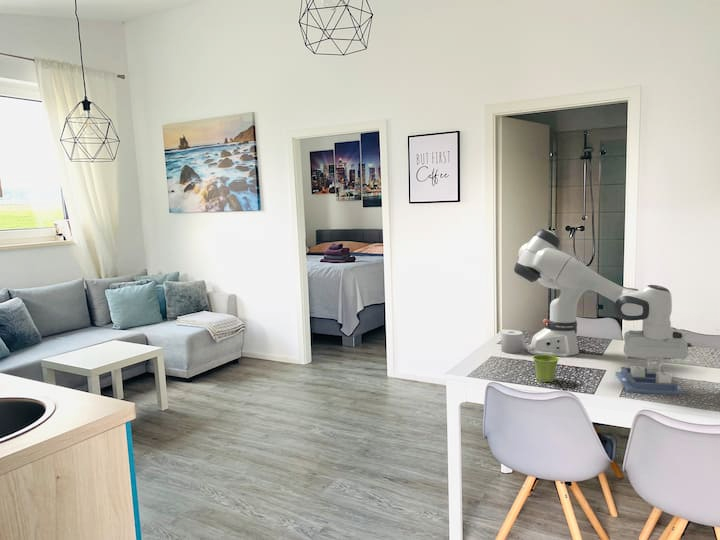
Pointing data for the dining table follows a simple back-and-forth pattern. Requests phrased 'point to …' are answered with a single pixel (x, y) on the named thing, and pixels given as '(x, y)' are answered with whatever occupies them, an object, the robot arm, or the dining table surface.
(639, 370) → the white small carton
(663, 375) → the white striped block
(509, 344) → the white cylinder
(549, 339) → the robot arm
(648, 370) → the white box with stripe
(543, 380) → the plant pot
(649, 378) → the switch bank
